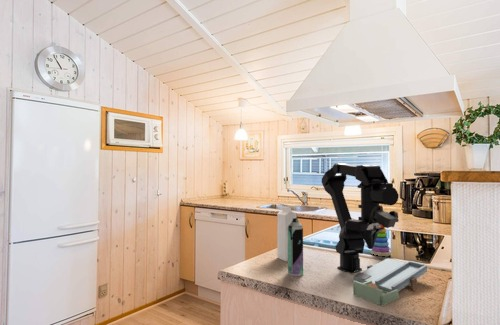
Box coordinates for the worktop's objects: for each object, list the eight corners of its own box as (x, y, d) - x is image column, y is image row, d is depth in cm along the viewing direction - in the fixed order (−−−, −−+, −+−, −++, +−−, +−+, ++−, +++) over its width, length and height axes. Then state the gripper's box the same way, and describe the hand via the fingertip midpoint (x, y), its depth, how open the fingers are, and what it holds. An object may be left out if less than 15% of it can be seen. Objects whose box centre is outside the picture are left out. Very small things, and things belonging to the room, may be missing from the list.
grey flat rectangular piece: (354, 280, 100) (353, 273, 100) (387, 261, 111) (387, 255, 111) (394, 294, 89) (393, 286, 88) (427, 271, 100) (426, 264, 100)
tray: (353, 294, 90) (353, 281, 90) (370, 288, 95) (370, 275, 95) (381, 305, 82) (381, 291, 82) (398, 298, 87) (398, 284, 87)
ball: (369, 294, 90) (362, 293, 88) (371, 282, 90) (364, 280, 89) (380, 298, 87) (373, 297, 85) (382, 286, 87) (375, 284, 86)
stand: (367, 275, 106) (367, 266, 106) (371, 274, 107) (371, 264, 107) (412, 290, 93) (412, 279, 93) (416, 288, 94) (416, 278, 94)
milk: (285, 261, 123) (284, 207, 123) (277, 257, 128) (276, 206, 129) (297, 259, 126) (296, 206, 126) (288, 255, 131) (288, 205, 132)
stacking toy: (384, 252, 137) (384, 210, 137) (393, 257, 129) (393, 213, 129) (367, 252, 137) (367, 211, 137) (375, 257, 129) (375, 213, 129)
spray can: (300, 277, 104) (299, 219, 105) (285, 274, 107) (285, 218, 108) (305, 272, 109) (304, 217, 110) (291, 270, 112) (290, 216, 113)
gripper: (373, 206, 89) (374, 259, 89) (409, 202, 99) (409, 250, 99) (343, 202, 99) (344, 250, 98) (379, 200, 109) (379, 243, 108)
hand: (370, 248), depth 101 cm, fingers closed
